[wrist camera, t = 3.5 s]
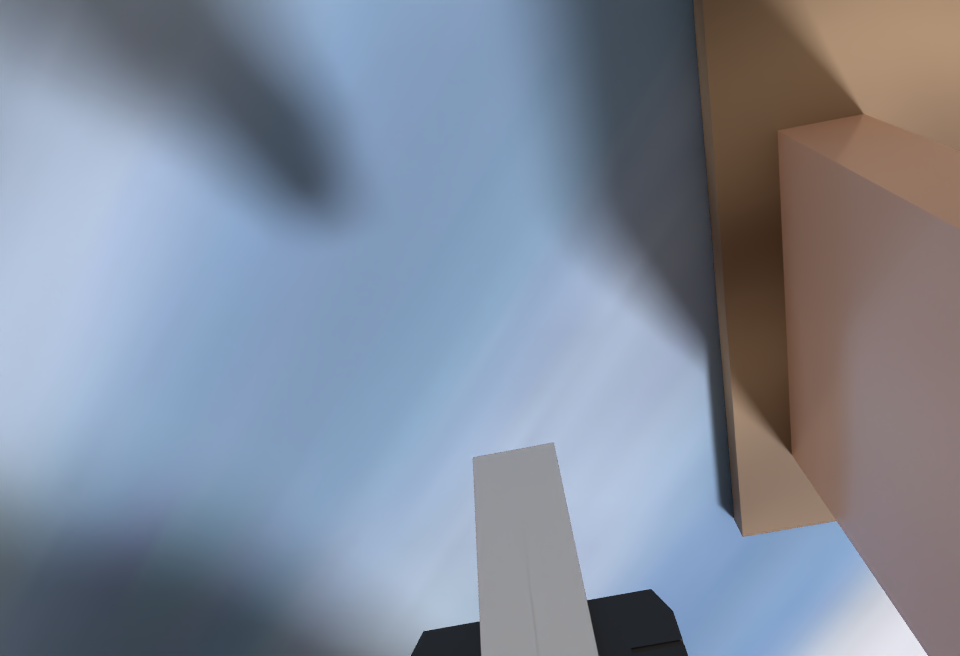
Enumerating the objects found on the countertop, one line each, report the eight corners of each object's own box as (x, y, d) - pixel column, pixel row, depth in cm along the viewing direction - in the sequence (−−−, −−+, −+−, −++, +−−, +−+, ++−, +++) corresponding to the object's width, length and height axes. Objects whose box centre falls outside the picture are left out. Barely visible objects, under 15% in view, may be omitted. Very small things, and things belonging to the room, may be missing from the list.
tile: (864, 442, 23) (1092, 710, 15) (791, 454, 23) (977, 728, 15) (864, 114, 20) (1162, 230, 11) (777, 130, 20) (1011, 257, 11)
